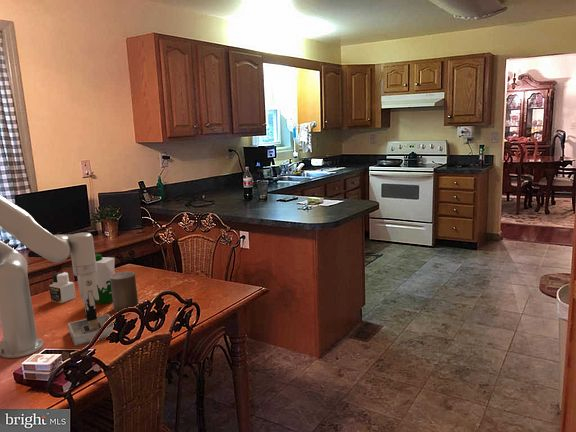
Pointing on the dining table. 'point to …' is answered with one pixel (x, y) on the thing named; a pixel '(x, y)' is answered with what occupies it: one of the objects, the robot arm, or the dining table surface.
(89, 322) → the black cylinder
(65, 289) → the medicine bottle
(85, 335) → the tin
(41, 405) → the dining table surface
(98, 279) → the milk carton
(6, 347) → the robot arm
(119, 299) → the pillar candle
